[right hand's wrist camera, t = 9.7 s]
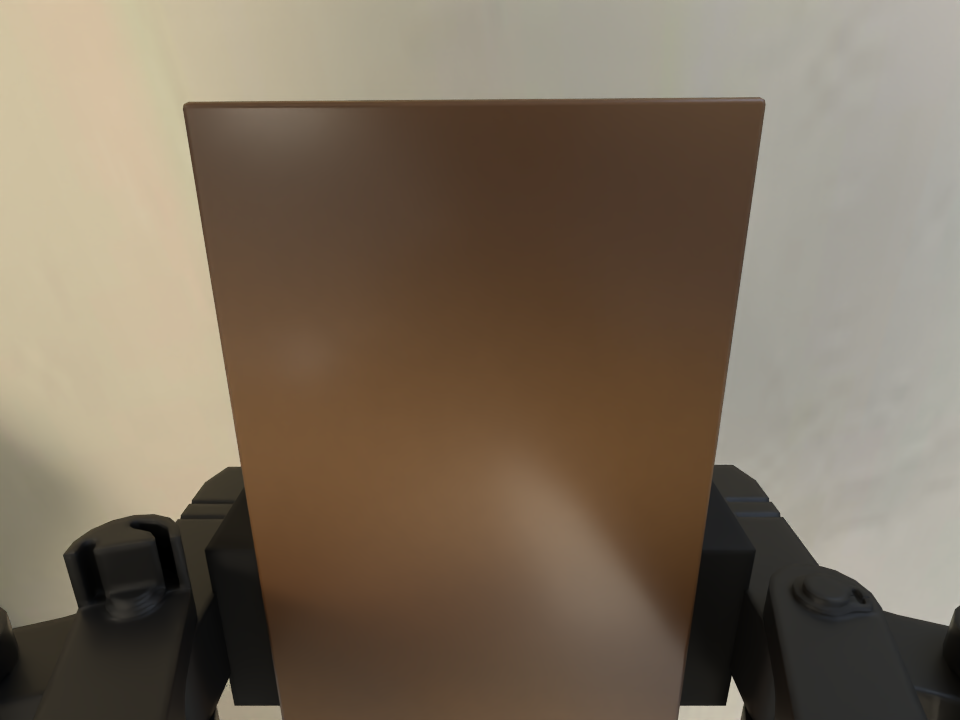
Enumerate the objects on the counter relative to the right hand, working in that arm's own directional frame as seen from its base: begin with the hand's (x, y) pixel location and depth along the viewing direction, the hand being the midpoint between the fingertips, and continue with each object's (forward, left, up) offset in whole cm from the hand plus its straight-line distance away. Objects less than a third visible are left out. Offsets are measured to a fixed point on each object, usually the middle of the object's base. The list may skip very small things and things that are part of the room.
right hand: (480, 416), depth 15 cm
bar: (+14, -16, -1) cm, 22 cm away
